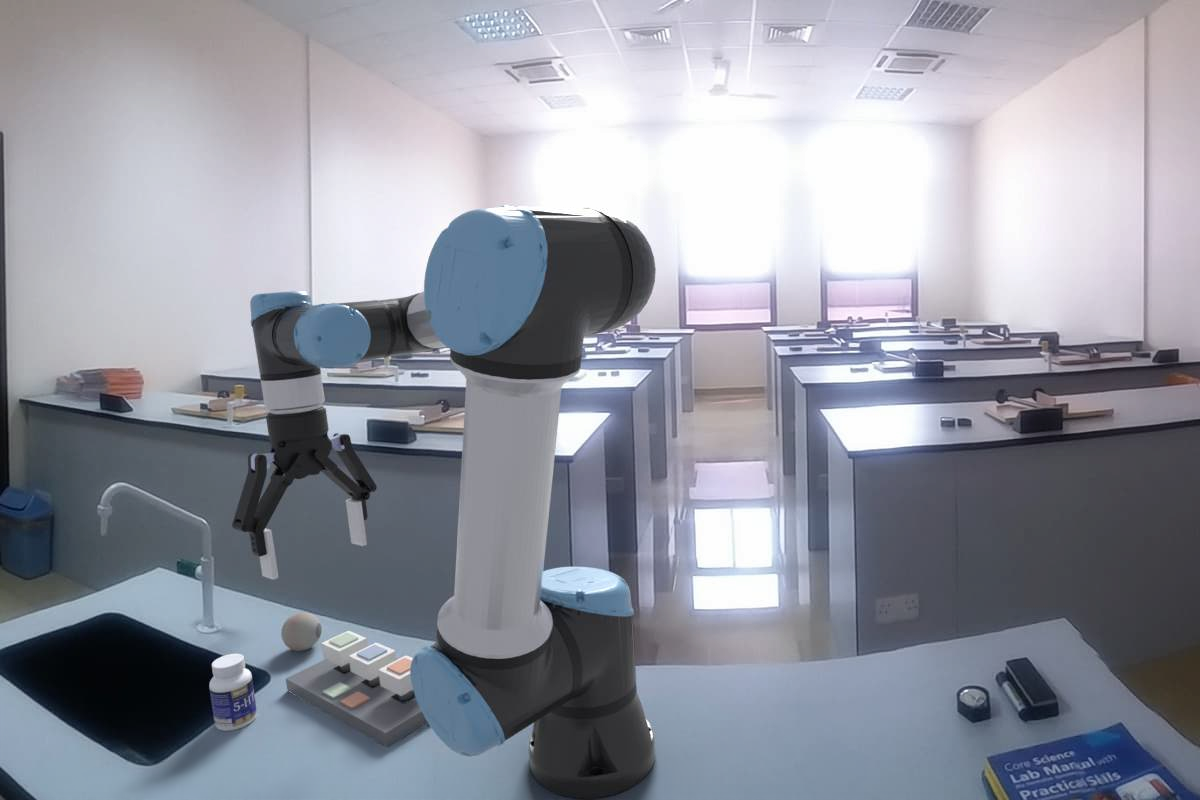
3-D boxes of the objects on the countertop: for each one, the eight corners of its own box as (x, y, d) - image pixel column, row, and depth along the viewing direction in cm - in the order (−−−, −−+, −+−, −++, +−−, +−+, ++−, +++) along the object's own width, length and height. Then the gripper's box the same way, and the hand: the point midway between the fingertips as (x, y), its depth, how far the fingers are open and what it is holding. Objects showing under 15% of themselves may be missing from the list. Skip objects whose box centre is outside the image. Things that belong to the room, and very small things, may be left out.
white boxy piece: (398, 679, 110) (395, 649, 109) (371, 694, 106) (367, 663, 106) (379, 670, 113) (376, 640, 112) (352, 684, 109) (348, 654, 109)
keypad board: (459, 702, 106) (457, 687, 106) (387, 747, 97) (385, 730, 97) (358, 655, 121) (356, 642, 121) (287, 691, 112) (285, 676, 112)
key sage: (369, 665, 114) (366, 636, 114) (342, 679, 111) (338, 649, 110) (352, 657, 117) (348, 628, 116) (325, 670, 114) (321, 641, 113)
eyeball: (315, 656, 122) (310, 621, 121) (277, 658, 122) (272, 623, 121) (329, 638, 128) (324, 605, 127) (292, 640, 128) (288, 607, 127)
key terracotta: (430, 693, 106) (426, 662, 105) (402, 709, 102) (399, 677, 101) (409, 684, 108) (405, 653, 108) (382, 699, 105) (378, 668, 104)
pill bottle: (241, 733, 102) (231, 671, 101) (206, 730, 103) (196, 670, 102) (265, 710, 107) (256, 651, 106) (232, 708, 109) (223, 650, 107)
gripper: (358, 391, 114) (376, 528, 118) (186, 425, 95) (213, 587, 98) (389, 393, 110) (407, 535, 113) (216, 429, 90) (243, 598, 94)
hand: (317, 559), depth 106 cm, fingers open, 13 cm apart
